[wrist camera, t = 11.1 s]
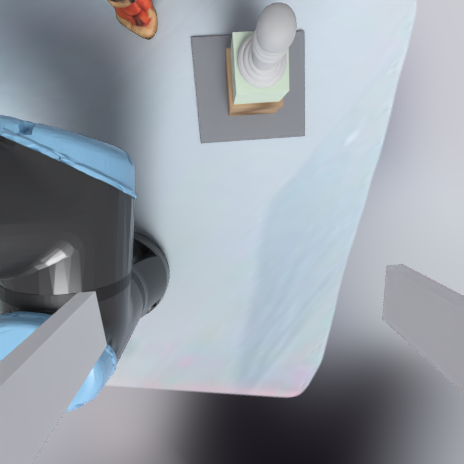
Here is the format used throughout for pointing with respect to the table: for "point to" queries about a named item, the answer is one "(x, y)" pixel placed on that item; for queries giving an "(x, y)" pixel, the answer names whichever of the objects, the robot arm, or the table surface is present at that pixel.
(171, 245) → the table surface
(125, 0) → the figurine
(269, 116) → the mat
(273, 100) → the block top
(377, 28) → the table surface
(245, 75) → the chess piece
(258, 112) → the block bottom
